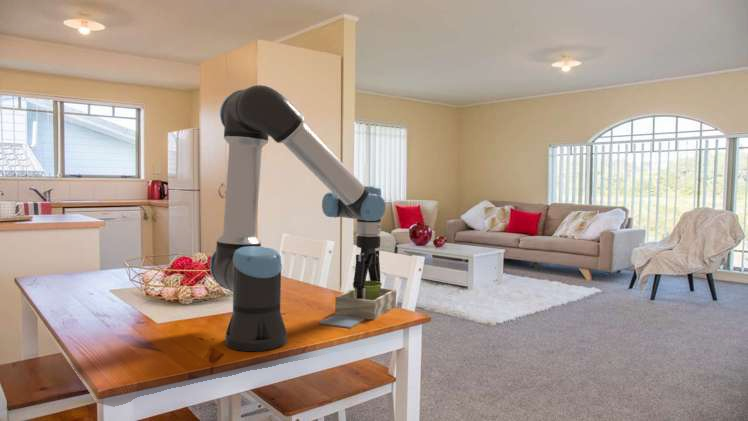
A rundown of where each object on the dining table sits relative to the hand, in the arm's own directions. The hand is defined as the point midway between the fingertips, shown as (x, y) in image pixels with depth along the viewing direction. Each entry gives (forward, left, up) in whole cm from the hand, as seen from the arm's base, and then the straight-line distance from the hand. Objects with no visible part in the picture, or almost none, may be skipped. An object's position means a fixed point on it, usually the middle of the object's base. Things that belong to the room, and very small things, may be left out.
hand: (366, 305), depth 168 cm
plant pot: (0, 0, -2) cm, 2 cm away
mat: (-16, +1, -2) cm, 16 cm away
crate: (0, 0, -2) cm, 2 cm away
